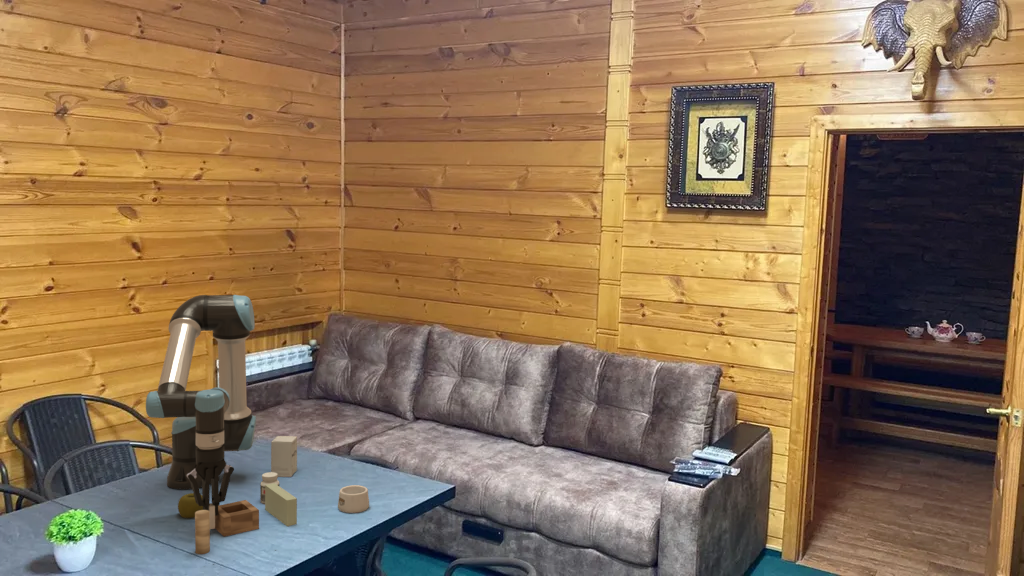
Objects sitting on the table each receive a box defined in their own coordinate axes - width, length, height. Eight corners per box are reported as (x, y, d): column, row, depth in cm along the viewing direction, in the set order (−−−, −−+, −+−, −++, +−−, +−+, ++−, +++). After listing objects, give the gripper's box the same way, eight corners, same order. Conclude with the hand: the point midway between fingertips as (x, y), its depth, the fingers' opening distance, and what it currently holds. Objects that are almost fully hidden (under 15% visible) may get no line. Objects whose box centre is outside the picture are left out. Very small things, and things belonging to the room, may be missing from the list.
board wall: (180, 532, 227) (180, 502, 226) (274, 511, 245) (274, 483, 244) (199, 552, 215) (198, 519, 214) (296, 528, 233) (296, 498, 232)
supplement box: (291, 477, 277) (291, 441, 275) (270, 476, 277) (270, 441, 276) (297, 470, 284) (297, 435, 283) (276, 469, 284) (276, 435, 283)
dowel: (193, 555, 213) (193, 511, 212) (207, 551, 215) (206, 508, 214) (198, 560, 210) (197, 516, 209) (211, 556, 212) (211, 513, 211)
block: (211, 525, 230) (211, 507, 229) (245, 517, 236) (245, 499, 236) (224, 536, 222) (224, 517, 222) (259, 528, 228) (258, 510, 228)
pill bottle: (273, 509, 247) (273, 478, 246) (256, 507, 248) (256, 476, 247) (282, 502, 252) (282, 472, 252) (266, 501, 254) (266, 470, 253)
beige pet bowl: (375, 509, 250) (375, 490, 249) (348, 516, 243) (349, 497, 242) (354, 498, 258) (354, 480, 258) (327, 505, 252) (328, 487, 251)
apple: (189, 525, 233) (188, 501, 232) (172, 519, 237) (171, 496, 236) (211, 517, 239) (210, 494, 238) (194, 511, 243) (193, 489, 243)
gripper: (190, 453, 215) (191, 537, 218) (238, 445, 224) (238, 526, 226) (181, 446, 221) (182, 528, 223) (228, 438, 229) (229, 518, 232)
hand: (210, 527), depth 225 cm, fingers closed
